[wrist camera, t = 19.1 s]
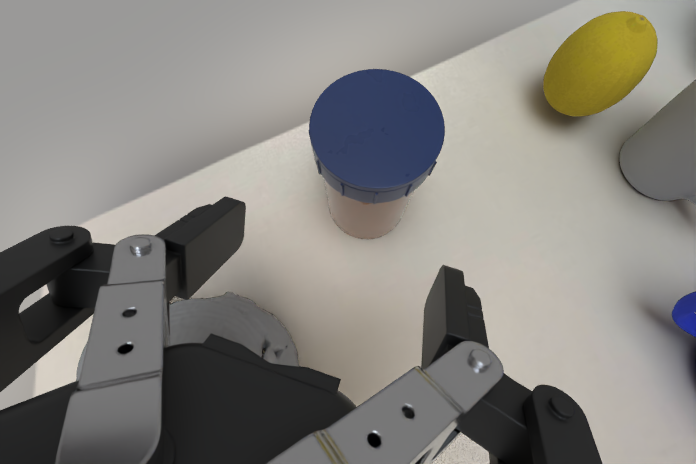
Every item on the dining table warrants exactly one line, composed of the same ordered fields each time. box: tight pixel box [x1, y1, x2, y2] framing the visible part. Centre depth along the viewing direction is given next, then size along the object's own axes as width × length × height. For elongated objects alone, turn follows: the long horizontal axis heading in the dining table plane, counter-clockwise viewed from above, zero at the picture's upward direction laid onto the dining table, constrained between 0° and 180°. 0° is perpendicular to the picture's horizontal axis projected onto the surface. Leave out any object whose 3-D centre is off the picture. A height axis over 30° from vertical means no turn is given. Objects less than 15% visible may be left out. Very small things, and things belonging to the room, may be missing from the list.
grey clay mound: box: [76, 292, 299, 381], centre depth 18 cm, size 12×12×11 cm
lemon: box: [543, 11, 657, 116], centre depth 23 cm, size 6×6×8 cm
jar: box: [324, 179, 415, 239], centre depth 20 cm, size 6×6×10 cm
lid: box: [309, 69, 445, 204], centre depth 16 cm, size 6×6×2 cm
